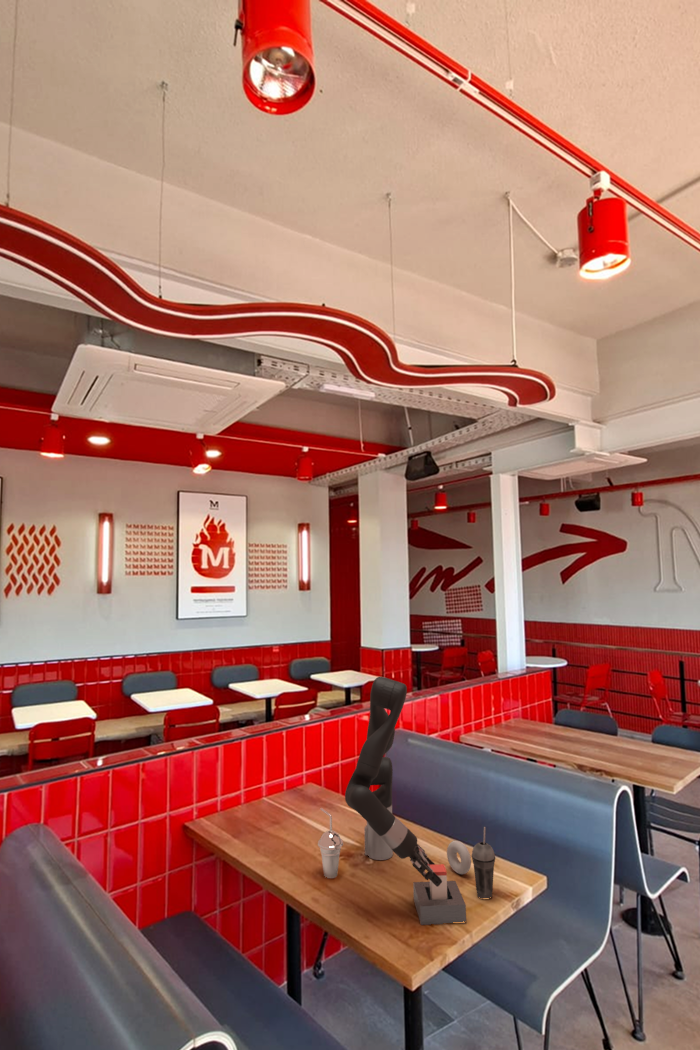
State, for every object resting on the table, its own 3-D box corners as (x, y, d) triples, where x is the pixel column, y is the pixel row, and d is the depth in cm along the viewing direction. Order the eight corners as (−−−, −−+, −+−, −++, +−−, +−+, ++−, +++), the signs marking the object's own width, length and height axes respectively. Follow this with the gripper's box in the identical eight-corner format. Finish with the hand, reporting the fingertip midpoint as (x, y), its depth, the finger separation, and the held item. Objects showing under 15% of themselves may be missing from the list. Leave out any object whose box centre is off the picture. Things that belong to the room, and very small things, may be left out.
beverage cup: (467, 895, 176) (466, 828, 178) (480, 886, 182) (479, 821, 183) (488, 905, 171) (486, 835, 173) (501, 895, 176) (499, 828, 178)
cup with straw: (320, 883, 184) (320, 818, 186) (315, 869, 193) (314, 808, 195) (346, 879, 187) (345, 815, 189) (339, 866, 195) (339, 805, 197)
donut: (473, 877, 187) (473, 845, 188) (466, 881, 185) (465, 848, 186) (452, 865, 195) (451, 834, 196) (444, 868, 193) (444, 837, 194)
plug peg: (432, 915, 166) (431, 872, 168) (430, 906, 171) (429, 864, 172) (447, 915, 166) (446, 871, 168) (444, 906, 171) (443, 864, 172)
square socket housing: (420, 924, 162) (420, 906, 162) (413, 899, 175) (413, 882, 175) (466, 923, 162) (465, 904, 163) (455, 897, 175) (455, 880, 176)
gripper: (410, 838, 163) (450, 879, 163) (403, 817, 177) (440, 854, 177) (392, 858, 163) (432, 899, 162) (386, 835, 177) (423, 873, 176)
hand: (436, 876), depth 170 cm, fingers open, 8 cm apart
